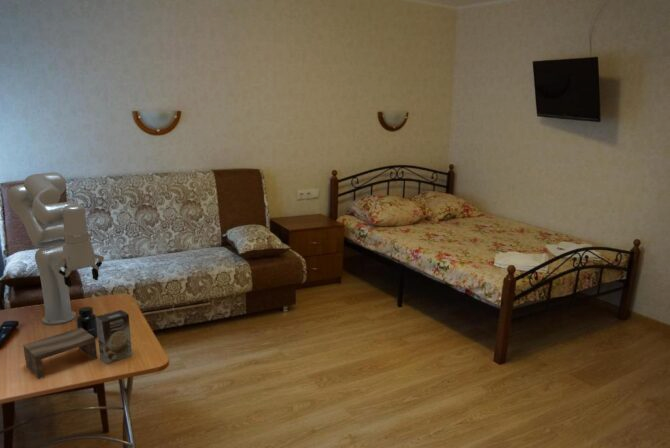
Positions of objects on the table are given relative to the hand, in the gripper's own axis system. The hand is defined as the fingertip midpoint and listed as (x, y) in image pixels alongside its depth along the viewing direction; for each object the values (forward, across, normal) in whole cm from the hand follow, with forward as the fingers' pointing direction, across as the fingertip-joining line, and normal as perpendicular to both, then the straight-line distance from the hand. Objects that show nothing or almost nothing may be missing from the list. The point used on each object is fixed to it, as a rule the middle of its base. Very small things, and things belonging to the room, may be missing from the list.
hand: (82, 282), depth 190 cm
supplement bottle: (+23, 0, 0) cm, 23 cm away
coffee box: (+23, 0, +22) cm, 32 cm away
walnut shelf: (+23, +14, +12) cm, 29 cm away
